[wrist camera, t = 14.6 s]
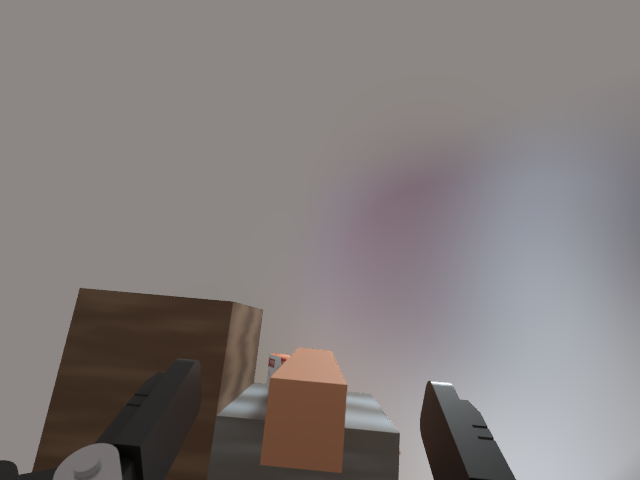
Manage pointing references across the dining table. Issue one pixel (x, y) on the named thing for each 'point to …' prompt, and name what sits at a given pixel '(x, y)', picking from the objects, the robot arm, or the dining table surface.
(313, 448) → the bar
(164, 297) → the stand
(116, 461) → the robot arm
